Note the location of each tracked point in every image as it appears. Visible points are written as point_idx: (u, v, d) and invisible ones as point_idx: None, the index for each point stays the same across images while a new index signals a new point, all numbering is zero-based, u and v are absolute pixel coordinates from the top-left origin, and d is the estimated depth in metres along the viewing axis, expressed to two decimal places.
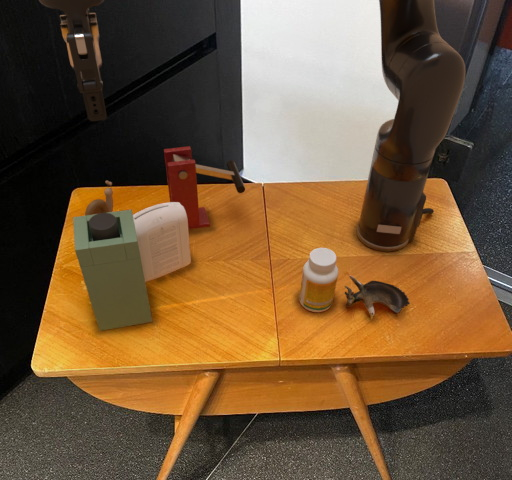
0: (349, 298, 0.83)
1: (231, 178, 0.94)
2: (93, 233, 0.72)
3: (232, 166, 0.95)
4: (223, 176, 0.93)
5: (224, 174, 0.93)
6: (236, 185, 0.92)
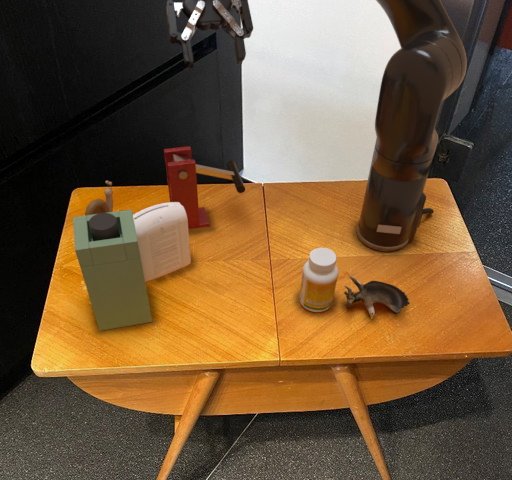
0: (349, 298, 0.83)
1: (231, 178, 0.94)
2: (93, 233, 0.72)
3: (232, 166, 0.95)
4: (223, 176, 0.93)
5: (224, 174, 0.93)
6: (236, 185, 0.92)
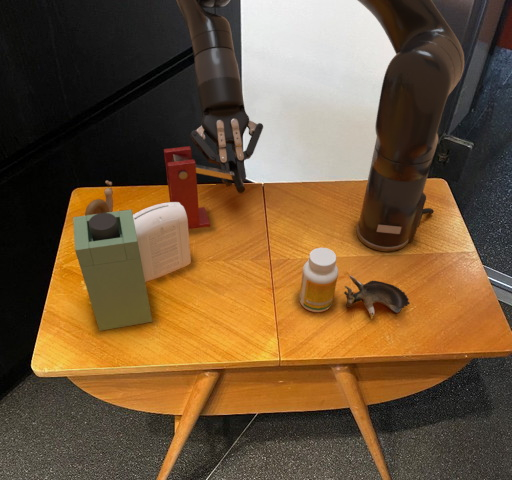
0: (349, 298, 0.83)
1: (231, 178, 0.94)
2: (93, 233, 0.72)
3: (231, 166, 0.95)
4: (223, 176, 0.93)
5: (223, 174, 0.93)
6: (236, 185, 0.92)
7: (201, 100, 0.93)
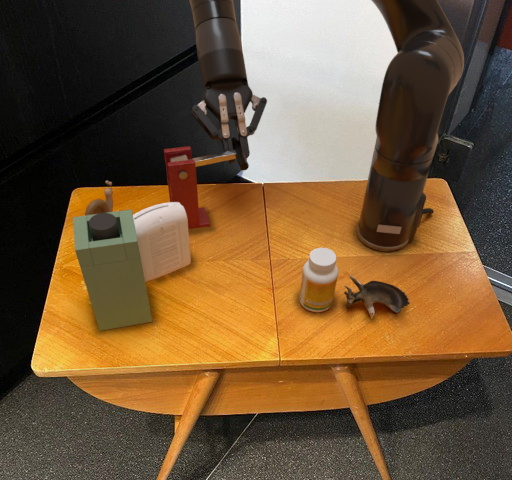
0: (349, 298, 0.83)
1: (234, 157, 0.91)
2: (93, 233, 0.72)
3: (233, 144, 0.92)
4: (226, 158, 0.91)
5: (225, 156, 0.90)
6: (239, 163, 0.89)
7: (202, 73, 0.90)
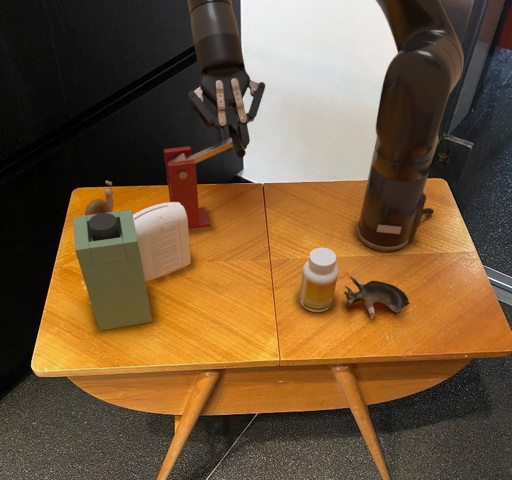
0: (349, 298, 0.83)
1: (232, 145, 0.89)
2: (93, 233, 0.72)
3: (229, 132, 0.90)
4: (223, 148, 0.89)
5: (222, 146, 0.89)
6: None
7: (199, 59, 0.88)
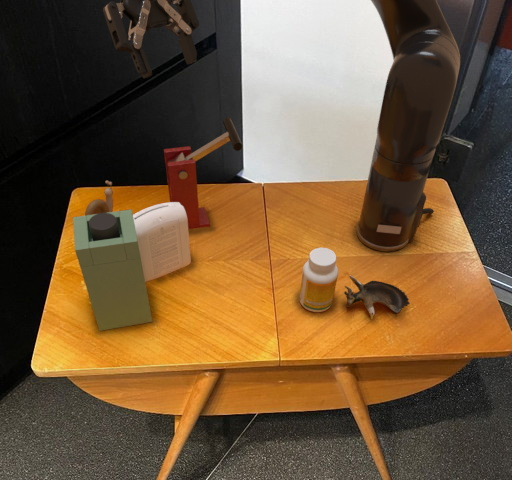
0: (349, 298, 0.83)
1: (229, 139, 0.88)
2: (93, 233, 0.72)
3: (225, 126, 0.89)
4: (221, 143, 0.88)
5: (219, 141, 0.88)
6: None
7: None
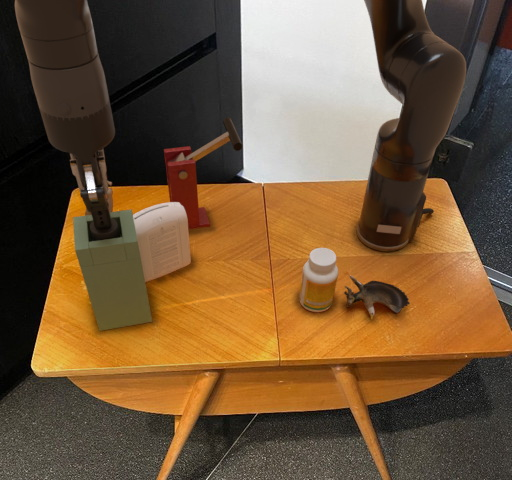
0: (349, 298, 0.83)
1: (229, 139, 0.88)
2: (94, 238, 0.73)
3: (225, 126, 0.89)
4: (221, 143, 0.88)
5: (219, 141, 0.88)
6: None
7: (89, 137, 0.59)
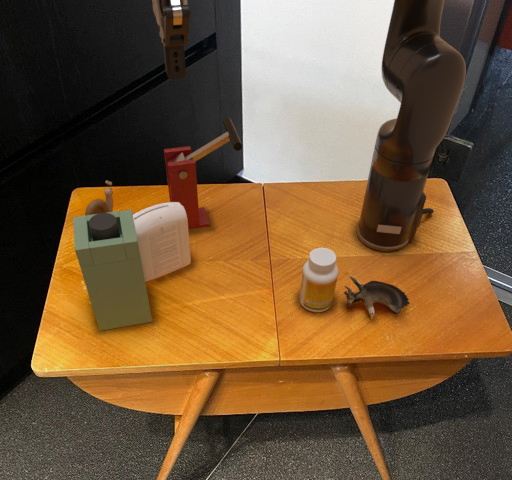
0: (349, 298, 0.83)
1: (229, 139, 0.88)
2: (93, 233, 0.72)
3: (225, 126, 0.89)
4: (221, 143, 0.88)
5: (219, 141, 0.88)
6: None
7: None
